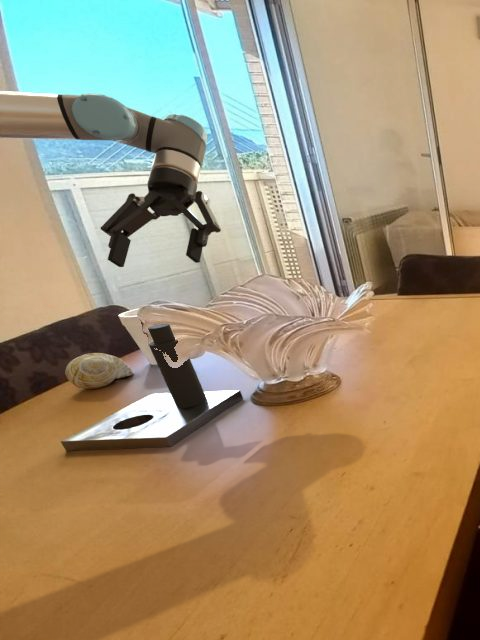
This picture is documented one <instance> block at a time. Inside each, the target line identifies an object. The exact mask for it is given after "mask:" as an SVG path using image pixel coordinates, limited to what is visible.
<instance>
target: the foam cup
mask: <svg viewBox="0 0 480 640" xmlns="http://www.w3.org/2000/svg"><path fill="white" fill-rule="evenodd" d="M138 309H139V308H135V309H130V310H127V311H124V312H121V313H120V314H118V319H119V320H120V322H121V325H122V326H123V327H124V328H125V329H126V330H127V332H128V333H129V335H130V336H131V338H132V339H133V341H134V342H135V344H136V345H137V346H138V348H139V350H140V351H141V353H142V354H143V355H144V357H145V358H146V360H147V361H148V363H149V364H150V365H151V366H158V364H157V362H156V360H155V358H154V356H153V353H152V351H151V350H150V349H149V347H148V337H147V335H146V334H144V333H143V331H142V324H141V321H140V320H139V318H138V316H137V311H138Z"/></svg>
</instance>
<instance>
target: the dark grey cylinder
mask: <svg viewBox="0 0 480 640" xmlns="http://www.w3.org/2000/svg"><path fill="white" fill-rule="evenodd" d="M148 330H149V333H150V335H151V337H152V339H153V342H151V343H149V347H150V349H151V351H152V353H153V356H154V358H155V360H156V362H157V364H158V365H157V367H158V369H159V371H160V373H161V375H162V378H163V380H164V382H165V384H166V386H167V388H168V391H169V393H171V395H172V398H173V400H174V402H175V404H176V406H177V407H178V408H188V407H192V406H196V405H199V404H201V403H203V402H204V401H206V399H207V398H206V396H205V393H204V392H205V391H204V388H203V386H202V384H201V382H200V379H199V377H198V374H197V372H196V370H195V368H194V365H193V363H192V361H191V358H190V359H188V360H187V361H185V362H184V363H183V365H181V366H180V367H178V368H172V367H170V366H169V365H168V363H167V362H166V360H165V359H164V356H163V353H164V354H165V352H166V354H167V355H169V357H170V358H171V360H172V361H173V362H177V360H178V357H177V356H178V355H177V354H176V351H175V349H174V347H175V346H176V344H177V343H178V340H175V337H174V334H173V332H172V329H171V327H170V325H169V324H157V325H153V326H150V327H148ZM154 348H155V349H156V348H157V349H158V350H155V349H154ZM159 350H161V351H159ZM162 352H163V353H162ZM165 357H166V356H165Z"/></svg>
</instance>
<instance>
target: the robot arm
mask: <svg viewBox="0 0 480 640" xmlns="http://www.w3.org/2000/svg"><path fill="white" fill-rule="evenodd" d="M0 139H6V140H7V139H9V140H10V139H11V140H13V139H14V140H15V139H17V140H78V141H80V140H81V141H112V142H116V143H119V144H123V145H127V146H129V147H132V148H137V149H140V150H143V151H146V152H149V153H152V154H154V158H153V161H152V164H151V167H150V171H149V175H148V179H147V184H146V185H147V190H148V192H147V194H145V195H144V196H139V195H137V194H135V193H134V192H133V193H132V192H131V193H129V194H128V195H127V198H126V200H125V202H123V204H122V205H121V206H120V207H119V208H117V210H116V211H115V212H114V213H113V214H112V215H111V216H110V217H109V218H108V219H107V220H106V221H105V222H104V223H103V224H102V225H101V227H99V228H100V230H101V231H102V232H103V233H105V234H106V235H108V236H110V238H109V242H108V245H107V247H108V248H109V252H108V256H107V259H106V260H107V261H109V262H110V263H112V264H113V265H115V266H117V267H118V268H124V267H125V263H126V260H127V257H128V256H127V255H128V253H129V249H130V244H131V242H132V240H131V239H130V237H131V236H132V235H134V234H135V233H136V232H137V231H139V230H140V229H141V228H143V227H144V226H146V225H147V224H149V223H150V222H151V221H153V220H154V221H156V220H158V219H159V218H160V217H170V216H171V217H178V216H179V215H182V214H183V215H184V217H185V218H186V219H187V220H189V221H190V222H191V223H192V224H193V226H194V227H193V228H191V229H190V233H189V239H188V243H187V248H186V252H185V256H186V257H188V259H190V260H192V261H193V262H194V263H195V264H197V263H199V264H200V262H201V257H202V252H203V248H206V247H207V245H208V240H209V236H210V235H212V233H220V232H221V231H222V228H221V227H220V225H219V222H218V221H217V218H216V216H215V215H214V213H213V211H212V209H211V207H210V204H211V200H210V198H209V197H208V196H207V195H206V194H204V192H202V190H198V184H199V181H200V175H201V171H202V167H203V162H204V159H205V154H206V150H207V143H208V134H207V131H206V129H205V128H204V126H203V125H202V124H201V123H199V121H197V120H195V119H193V118H191V117H189V116H186V115H184V114H176V113H173V114H169V115H166V116H165V118H164V119H162V118H159V117H155V116H153V115H149V114H147V113H144V112H142V111H139V110H136V109H132V108H130V107H128V106H125V104H123V103H122V102H120V101H119V100H118V99H115V98H113V97H110V96H107V95H105V94H98V93H97V94H96V93H83V94H80V95H79V94H58V93H46V92H45V93H44V92H29V91H28V92H27V91H8V90H7V91H6V90H0ZM194 204H196V206H197V208H198V210H199V211H200V214H201V215H202V217H203V219H204V221H205V223H203V222H202V221H201V220H200V219H198V218H197V217H196V216H195V215H194V214H193V212H192V211H191V210H189V208H190V207H191V206H192V205H194ZM149 208H150V210H151V211H153V212H151V211H150V210H149Z"/></svg>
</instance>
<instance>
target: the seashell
mask: <svg viewBox="0 0 480 640" xmlns="http://www.w3.org/2000/svg"><path fill="white" fill-rule="evenodd" d="M64 373H65V376H66V378H67V380H68V381H69V383H71V384H72V385H74V386H75V387H76V388H79V389H87V390H90V389H92V390H93V389H100V388H103V387H106V386H108V385H109V384H111V383H113V381H115V379H121V378H125V377H129V376H132V375H134V372H133V370H132V368H131V367H130V366H129V365H128V364H127V363H126V362H125V361H124V360H123V359H121V357H119V356H115V355H111V354H107V353H102V352H101V353H100V352H91V353H85V354H81V355H80V356H77V357H75V358H73V359H72V360H70V361H69V362H68V363H67V365H66V367H65V372H64Z"/></svg>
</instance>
